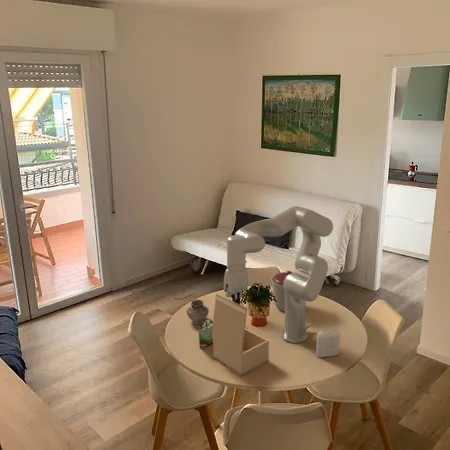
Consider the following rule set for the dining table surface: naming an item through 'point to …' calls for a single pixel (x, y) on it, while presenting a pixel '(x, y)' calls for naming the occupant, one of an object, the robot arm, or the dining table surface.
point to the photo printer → (328, 343)
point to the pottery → (197, 311)
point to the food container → (206, 333)
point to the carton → (244, 353)
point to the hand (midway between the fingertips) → (236, 306)
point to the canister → (280, 289)
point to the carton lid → (229, 323)
